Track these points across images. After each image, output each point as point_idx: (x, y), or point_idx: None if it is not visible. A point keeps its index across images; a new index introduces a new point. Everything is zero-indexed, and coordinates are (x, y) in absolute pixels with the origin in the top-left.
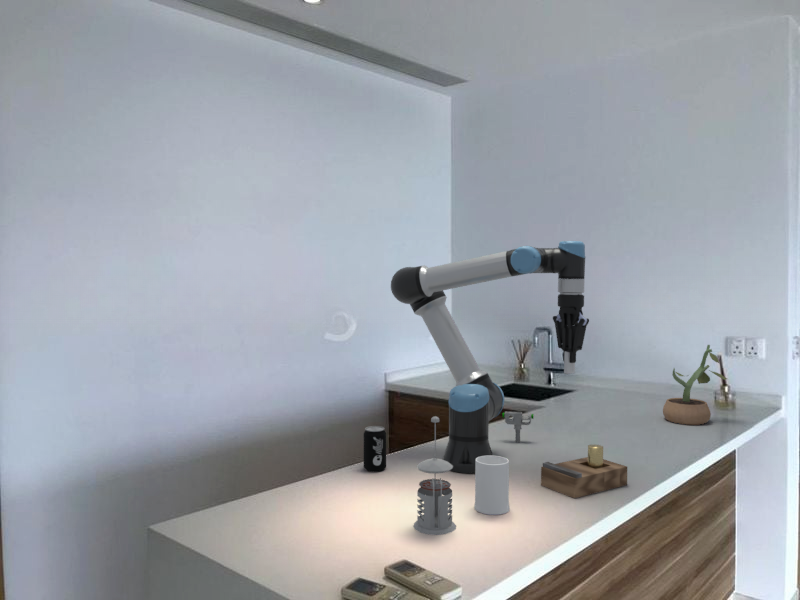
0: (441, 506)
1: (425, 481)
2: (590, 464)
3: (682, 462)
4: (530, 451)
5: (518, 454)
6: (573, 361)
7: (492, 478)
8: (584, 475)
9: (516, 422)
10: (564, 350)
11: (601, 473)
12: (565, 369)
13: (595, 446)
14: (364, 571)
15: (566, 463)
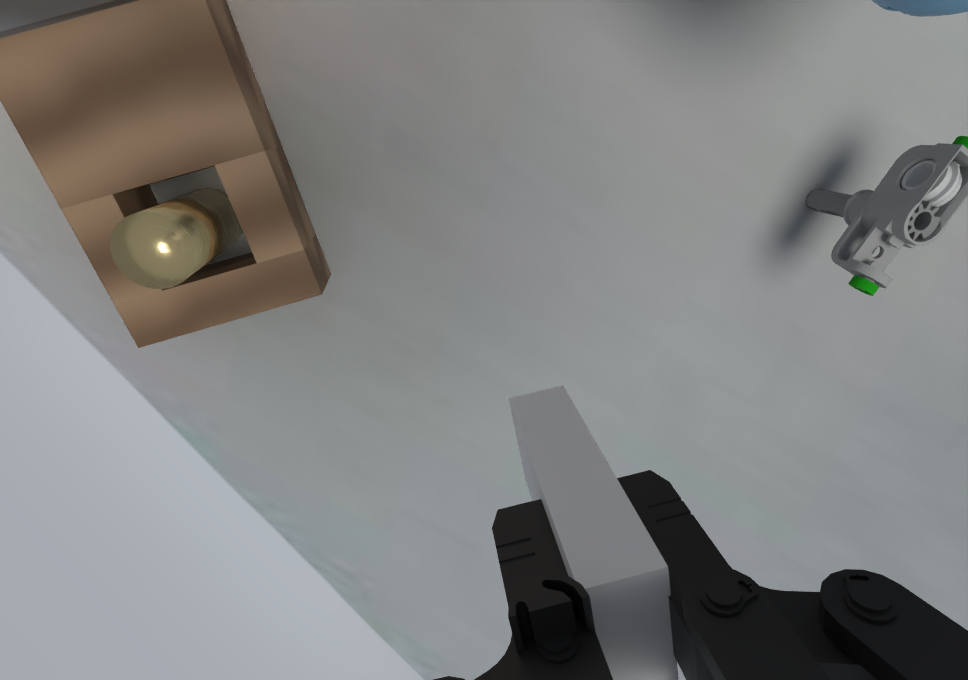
0: None
1: None
2: (167, 201)
3: (381, 608)
4: (677, 183)
5: (659, 105)
6: (495, 541)
7: None
8: (3, 79)
9: (878, 198)
10: (688, 584)
11: (52, 188)
12: (553, 413)
13: (150, 249)
14: None
15: (220, 104)
